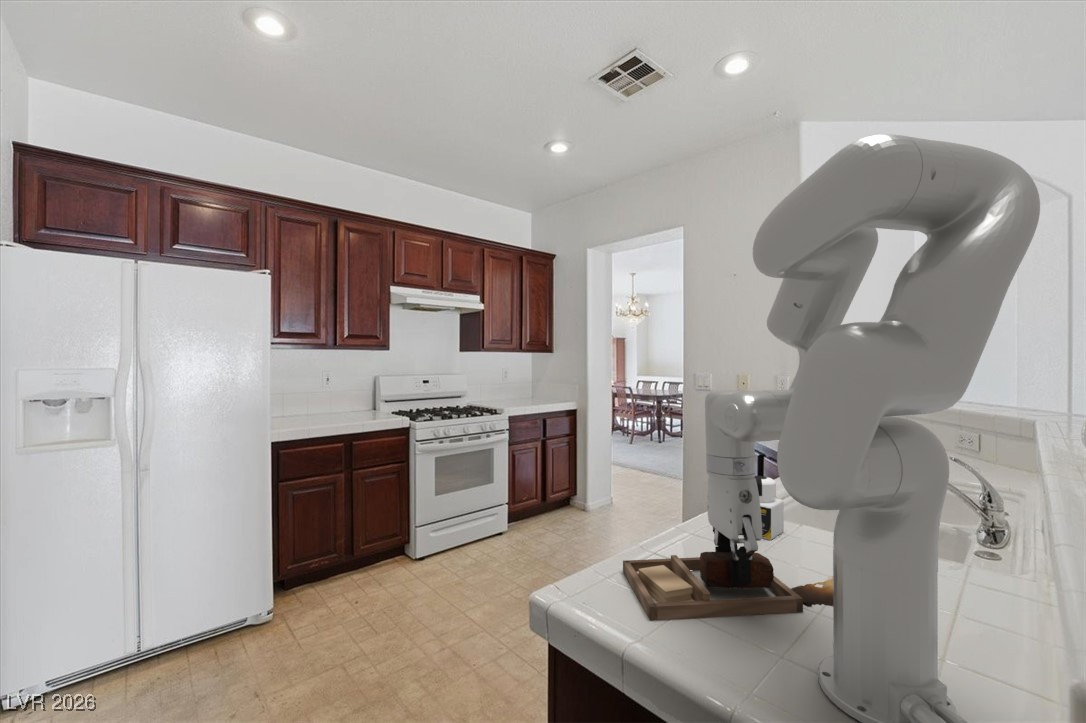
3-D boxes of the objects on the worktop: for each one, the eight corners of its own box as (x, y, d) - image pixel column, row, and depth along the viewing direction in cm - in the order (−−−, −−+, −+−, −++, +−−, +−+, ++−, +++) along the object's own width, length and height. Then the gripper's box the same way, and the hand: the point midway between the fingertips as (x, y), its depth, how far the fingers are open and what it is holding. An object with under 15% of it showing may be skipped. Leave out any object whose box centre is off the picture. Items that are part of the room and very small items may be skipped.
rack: (803, 612, 71) (803, 592, 71) (650, 620, 69) (650, 600, 69) (748, 565, 87) (748, 549, 87) (622, 571, 85) (622, 555, 85)
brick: (707, 589, 76) (706, 560, 76) (700, 579, 80) (699, 551, 80) (774, 589, 76) (773, 560, 76) (763, 578, 80) (763, 550, 80)
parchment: (888, 568, 86) (887, 563, 86) (945, 592, 77) (945, 587, 77) (772, 588, 80) (772, 583, 80) (820, 617, 71) (819, 611, 71)
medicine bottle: (737, 532, 105) (737, 477, 104) (751, 524, 109) (751, 472, 109) (771, 540, 99) (770, 483, 99) (784, 532, 104) (784, 477, 104)
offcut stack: (694, 607, 74) (694, 588, 74) (666, 612, 72) (666, 593, 72) (660, 579, 83) (660, 562, 83) (634, 583, 82) (634, 566, 82)
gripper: (781, 475, 70) (784, 600, 70) (728, 455, 87) (730, 556, 87) (733, 477, 70) (736, 603, 69) (688, 456, 86) (690, 558, 86)
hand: (732, 575), depth 78 cm, fingers closed on brick, 4 cm apart
